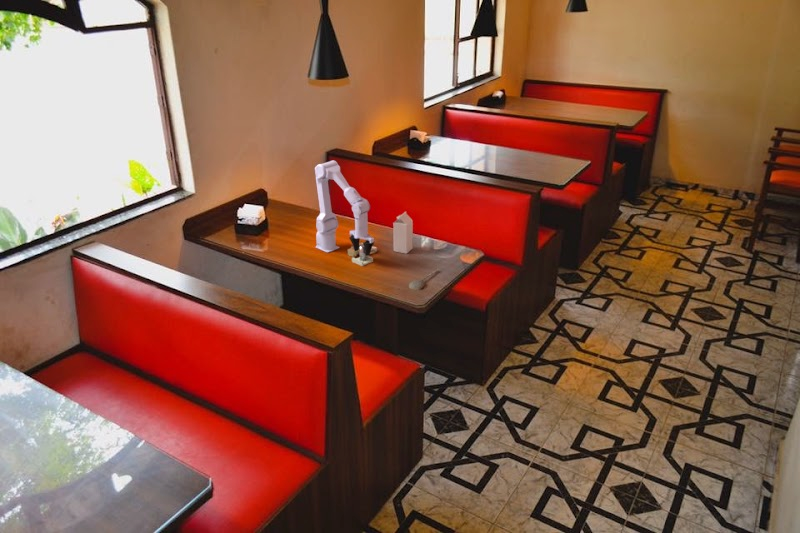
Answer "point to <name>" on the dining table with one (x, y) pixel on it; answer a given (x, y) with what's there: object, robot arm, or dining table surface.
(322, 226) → the robot arm
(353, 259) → the pad
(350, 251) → the block
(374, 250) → the socket block
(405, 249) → the milk carton
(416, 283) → the soupspoon
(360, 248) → the peg
